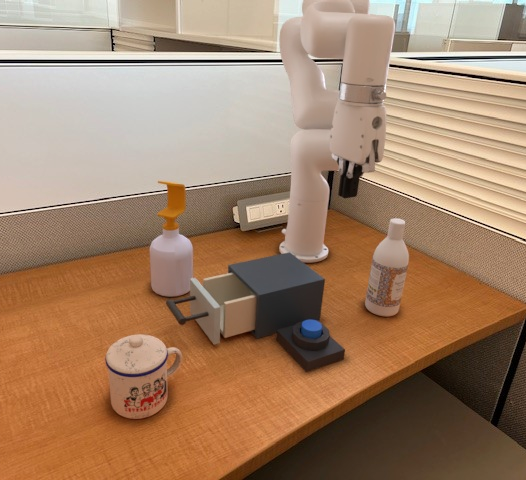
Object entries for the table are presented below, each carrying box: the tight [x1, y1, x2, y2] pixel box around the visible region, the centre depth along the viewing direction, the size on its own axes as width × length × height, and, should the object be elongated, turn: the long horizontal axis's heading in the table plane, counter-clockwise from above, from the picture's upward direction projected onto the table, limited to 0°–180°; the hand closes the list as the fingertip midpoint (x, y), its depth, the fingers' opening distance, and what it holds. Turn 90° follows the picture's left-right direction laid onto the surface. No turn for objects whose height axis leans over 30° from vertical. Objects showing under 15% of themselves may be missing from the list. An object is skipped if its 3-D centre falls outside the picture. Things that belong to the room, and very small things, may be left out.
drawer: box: [165, 272, 257, 346], centre depth 91 cm, size 19×11×8 cm, turn 117°
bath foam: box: [364, 217, 410, 317], centre depth 97 cm, size 7×7×20 cm
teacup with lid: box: [104, 333, 183, 420], centre depth 73 cm, size 12×9×12 cm
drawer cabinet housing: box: [227, 252, 326, 340], centre depth 96 cm, size 15×13×10 cm
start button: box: [301, 319, 322, 339], centre depth 86 cm, size 4×4×2 cm
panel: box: [275, 321, 346, 373], centre depth 87 cm, size 10×8×4 cm
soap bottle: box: [149, 180, 194, 298], centre depth 101 cm, size 9×9×25 cm
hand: (347, 196), depth 89 cm, fingers closed
